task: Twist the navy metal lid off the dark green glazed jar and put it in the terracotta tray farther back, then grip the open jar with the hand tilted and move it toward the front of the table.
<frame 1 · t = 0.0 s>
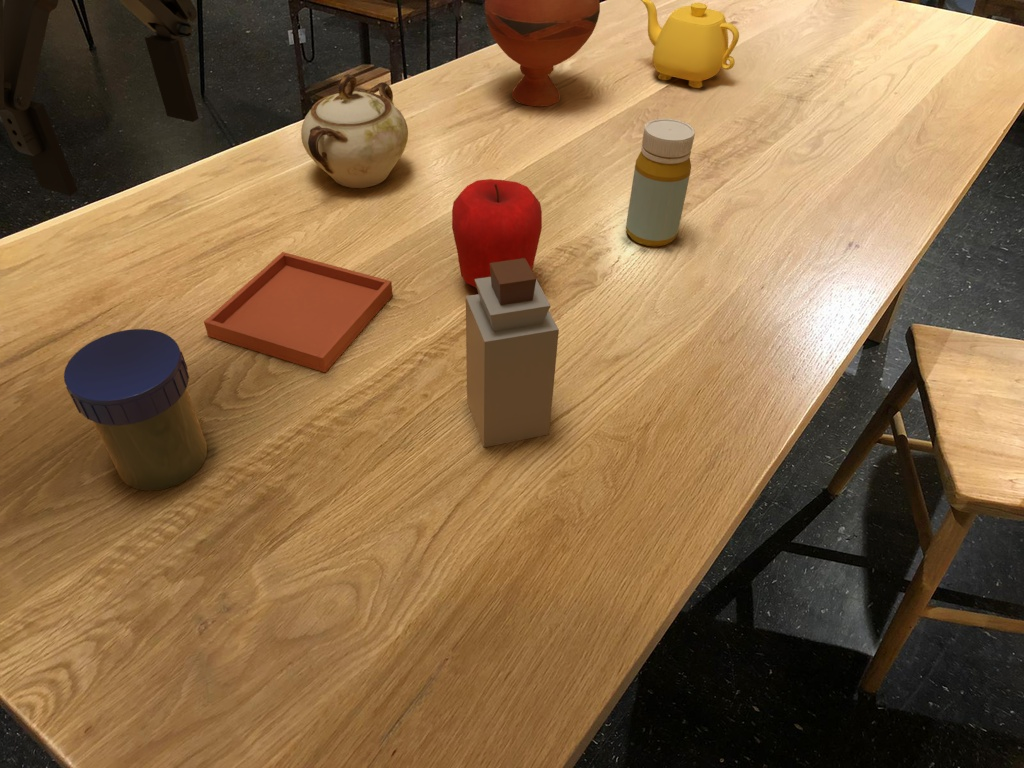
hand: (126, 151, 61), 27 cm above the table, tool pointing down, fingers open, 13 cm apart
perfume bottle: (507, 418, 78), on the table
apple: (495, 284, 95), on the table
lid: (124, 367, 65), point 12 cm above the table, screwed on, not yet turned
jar: (163, 458, 73), on the table
goblet: (536, 98, 136), on the table
tray: (303, 315, 89), on the table
sugar bowl: (359, 176, 114), on the table
teapot: (679, 75, 146), on the table
bottle: (650, 235, 104), on the table
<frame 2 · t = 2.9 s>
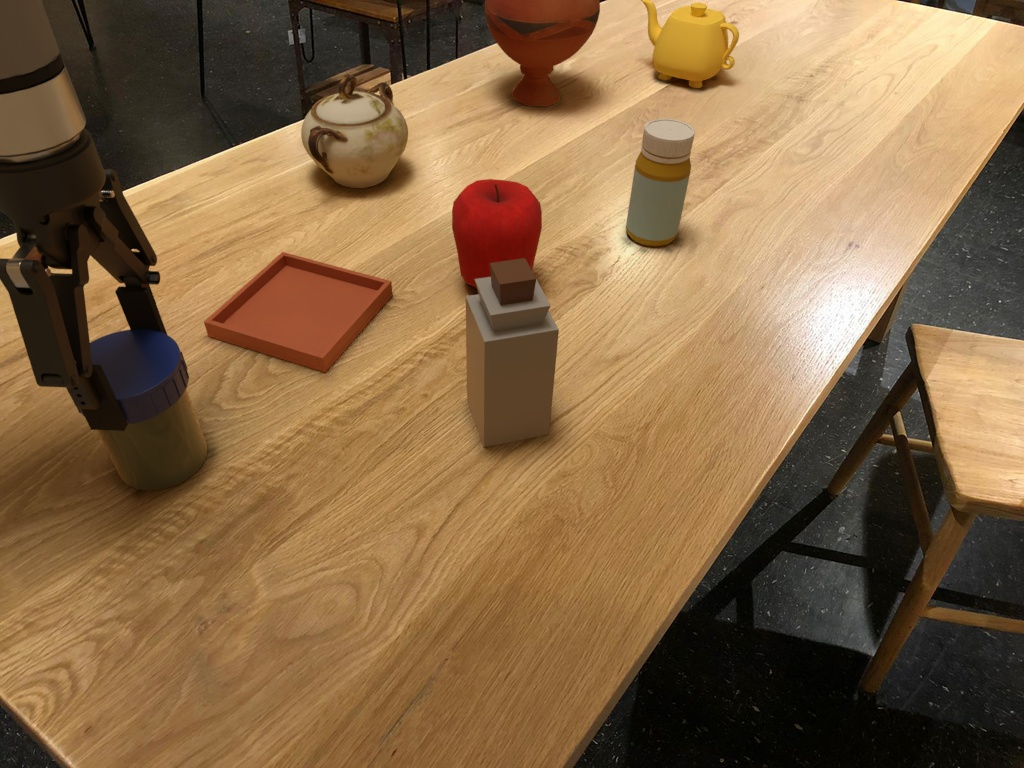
hand: (133, 385, 66), 10 cm above the table, tool pointing down
lid: (124, 367, 65), point 12 cm above the table, screwed on, not yet turned, touching gripper
everything else where it was.
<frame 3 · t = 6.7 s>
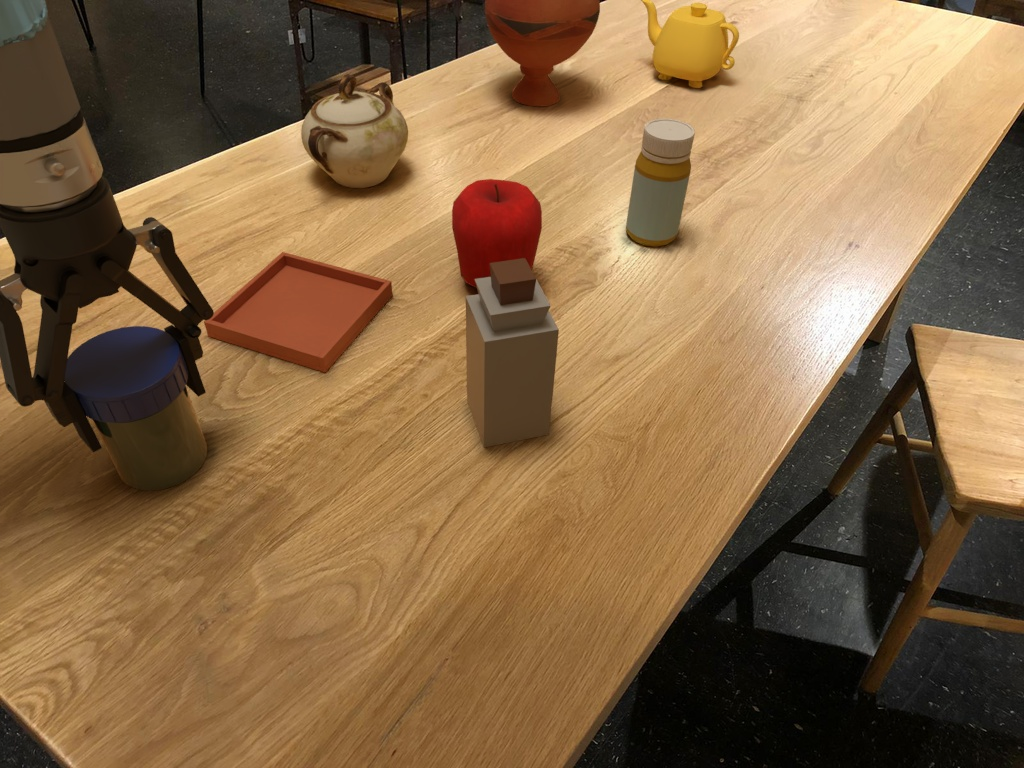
hand: (144, 413, 68), 6 cm above the table, tool pointing down, fingers closed on lid, 9 cm apart
lid: (123, 364, 64), point 12 cm above the table, off its thread, touching gripper
everything else where it was.
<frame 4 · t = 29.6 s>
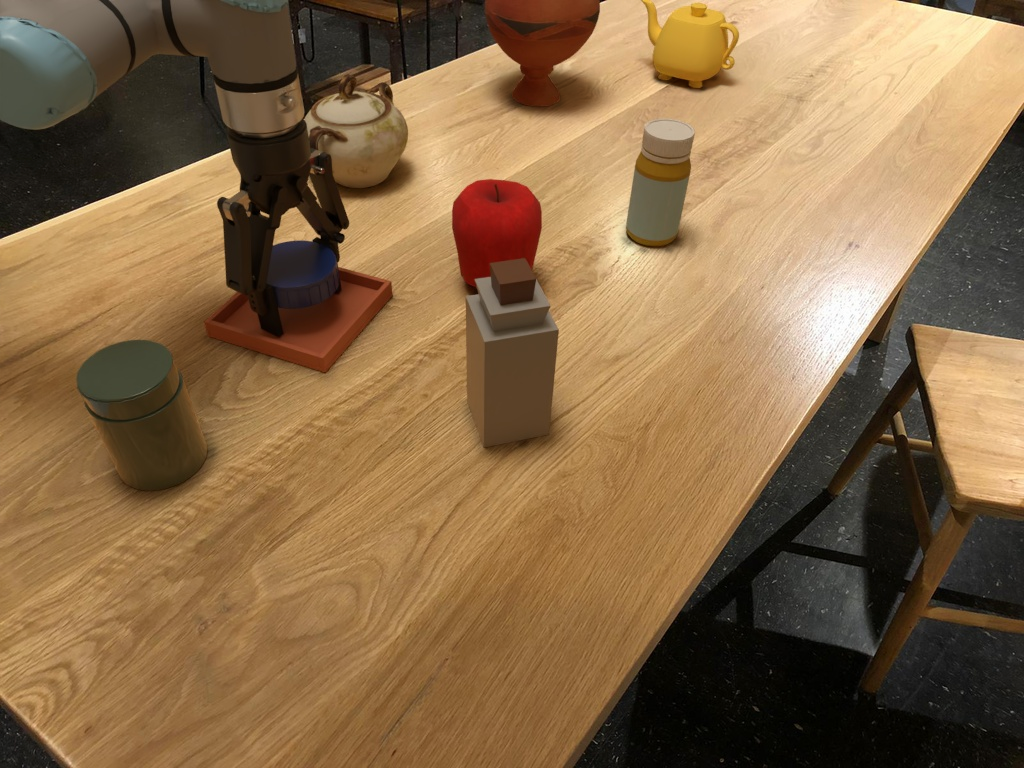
hand: (302, 309, 88), 1 cm above the table, tool pointing down, fingers closed on lid, 9 cm apart
lid: (294, 266, 84), point 7 cm above the table, off its thread, touching gripper
everything else where it was.
when the fingers open (4 cm above the table, at t = 36.2 s): lid drops 7 cm, resting on tray.
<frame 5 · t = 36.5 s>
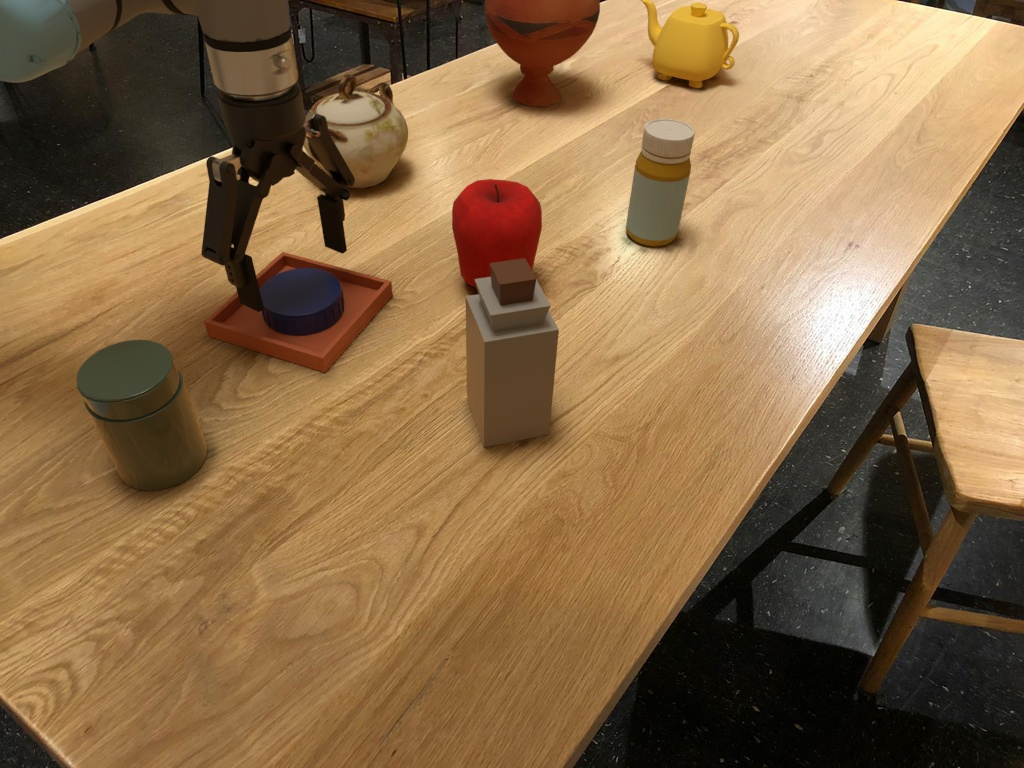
hand: (296, 276, 85), 5 cm above the table, tool pointing down, fingers open, 12 cm apart
lid: (300, 294, 87), point 3 cm above the table, off its thread, touching tray
everything else where it was.
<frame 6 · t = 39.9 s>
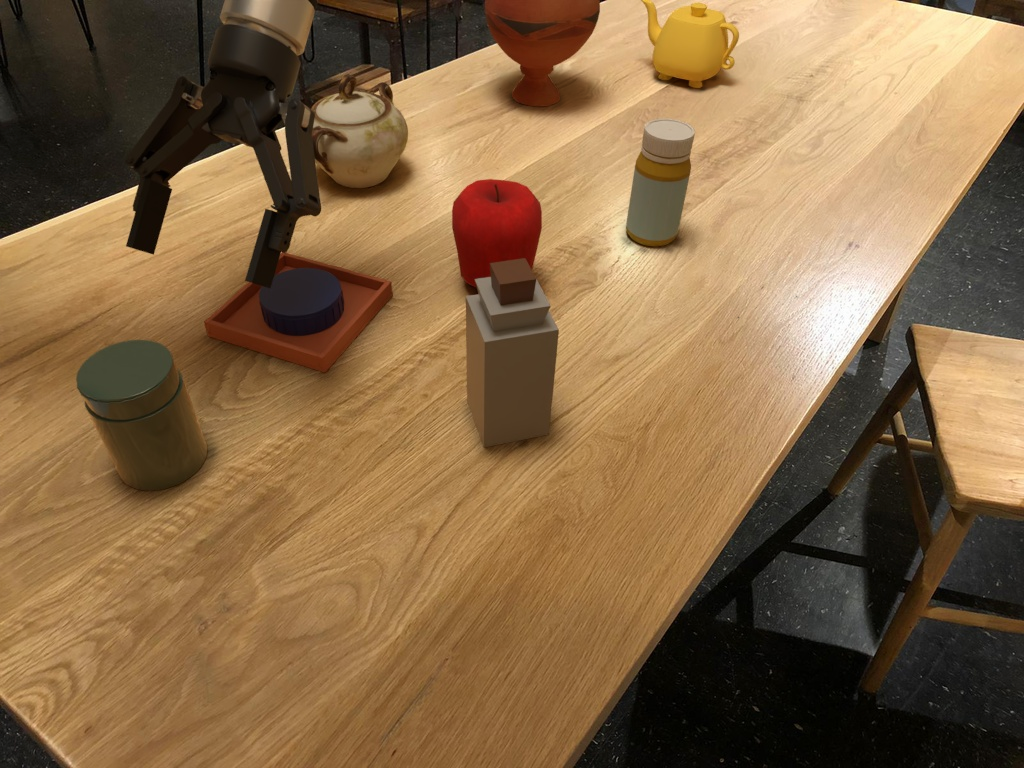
hand: (197, 267, 70), 15 cm above the table, tool tilted 45°, fingers open, 13 cm apart
nothing on the table moved.
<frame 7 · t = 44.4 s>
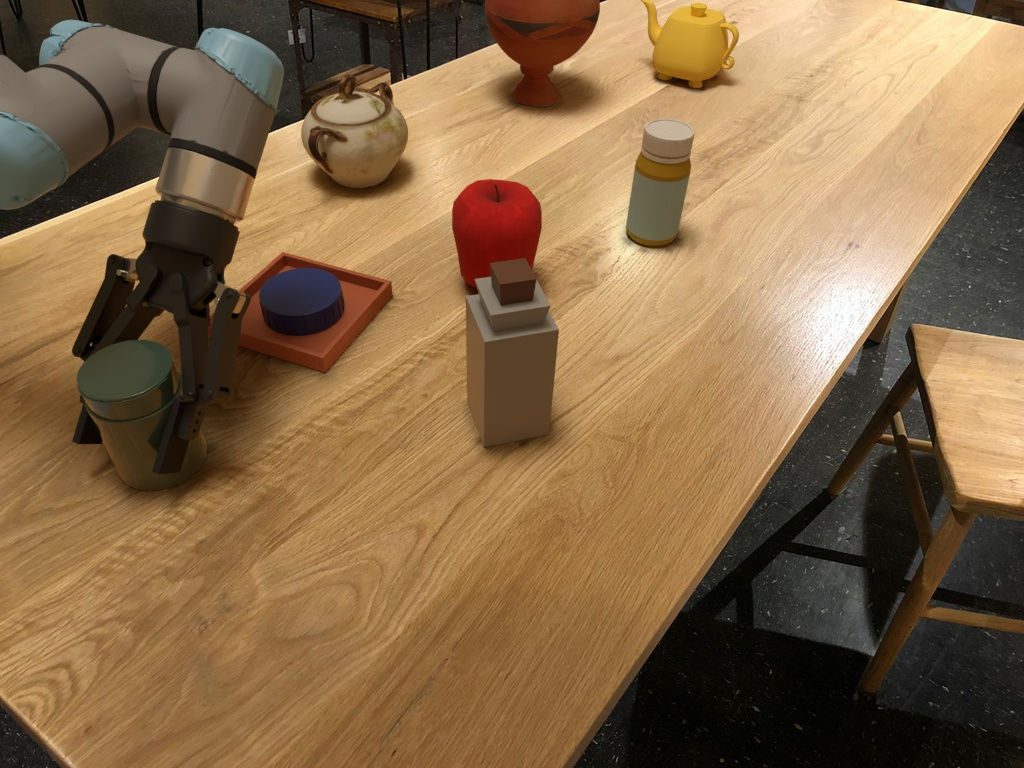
hand: (126, 457, 68), 4 cm above the table, tool tilted 45°, fingers closed on jar, 8 cm apart
jar: (163, 457, 73), on the table, touching gripper
everything else where it was.
when the fingers open (4 cm above the table, at t = 51.6 s): jar stays where it is, on the table.
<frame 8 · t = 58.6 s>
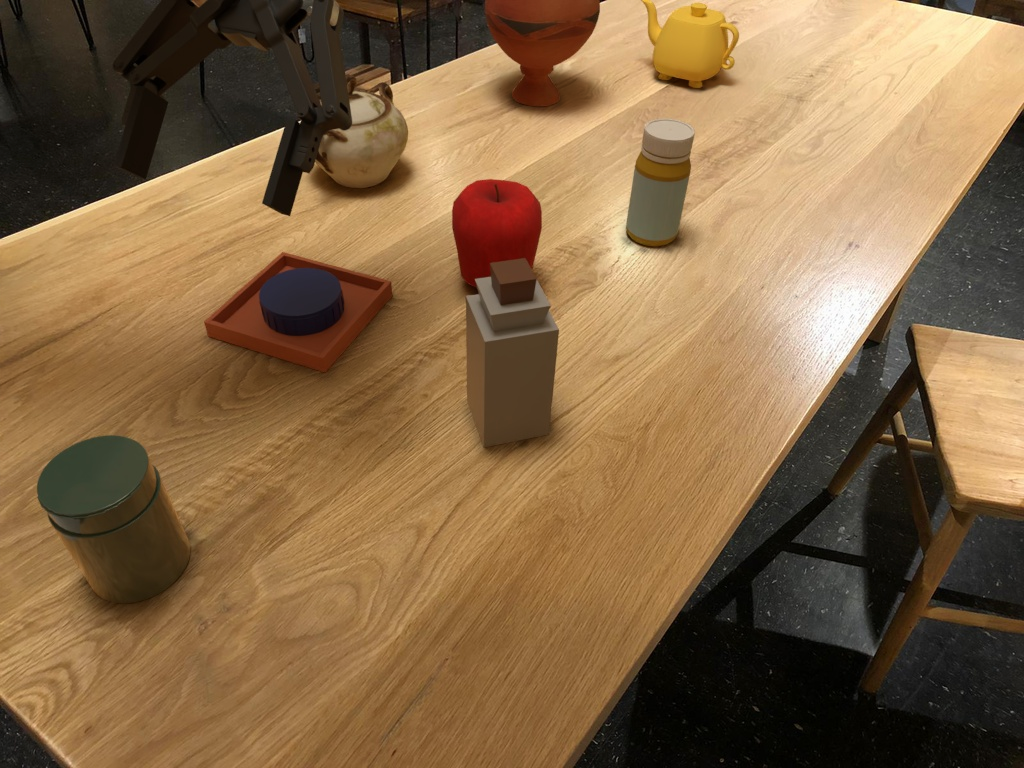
hand: (200, 191, 59), 26 cm above the table, tool tilted 45°, fingers open, 13 cm apart
jar: (140, 561, 64), on the table
everything else where it was.
at the end: lid inside the target area in the tray (0.1 cm from its centre), point 3.0 cm above the tray's base; the gripper is holding nothing; jar inside the target area (0.0 cm from its centre), on the table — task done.
